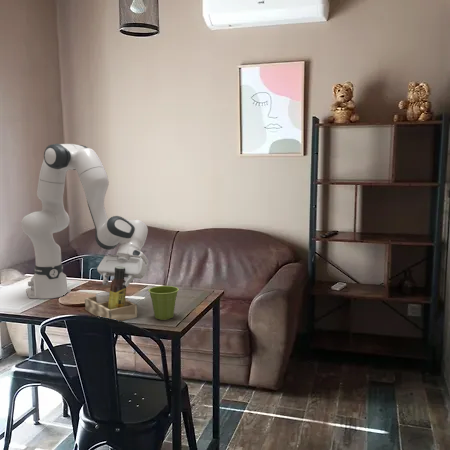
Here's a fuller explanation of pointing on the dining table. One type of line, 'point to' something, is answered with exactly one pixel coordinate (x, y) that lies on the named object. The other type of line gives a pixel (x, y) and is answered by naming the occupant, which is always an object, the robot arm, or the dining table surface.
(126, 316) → the caddy
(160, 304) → the plant pot
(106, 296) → the white cylinder
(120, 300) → the sauce bottle
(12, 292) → the dining table surface
